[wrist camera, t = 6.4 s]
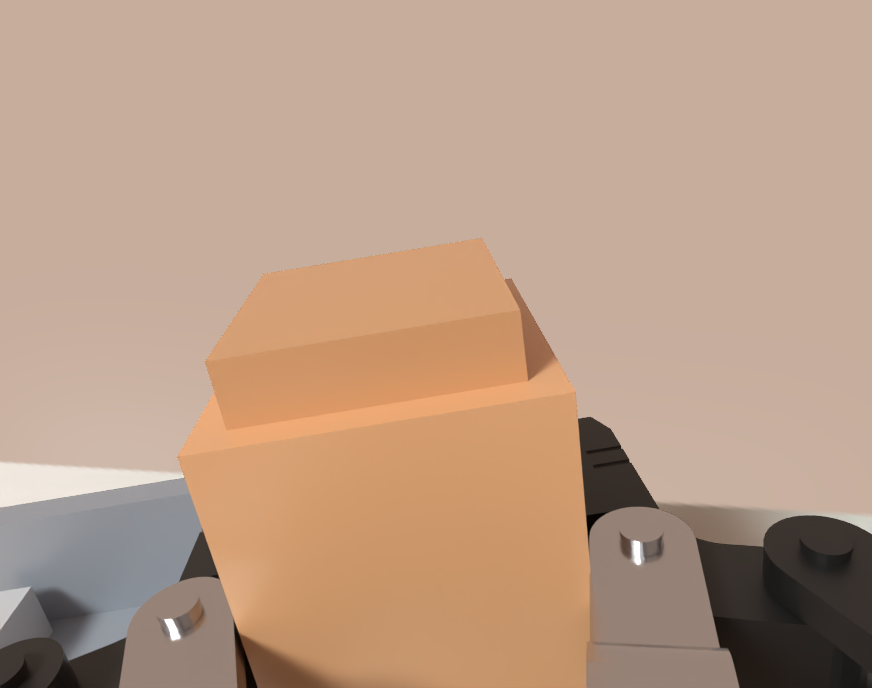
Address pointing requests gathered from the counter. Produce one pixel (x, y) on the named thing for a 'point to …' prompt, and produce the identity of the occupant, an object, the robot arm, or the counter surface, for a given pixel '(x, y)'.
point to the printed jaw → (395, 479)
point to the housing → (91, 562)
